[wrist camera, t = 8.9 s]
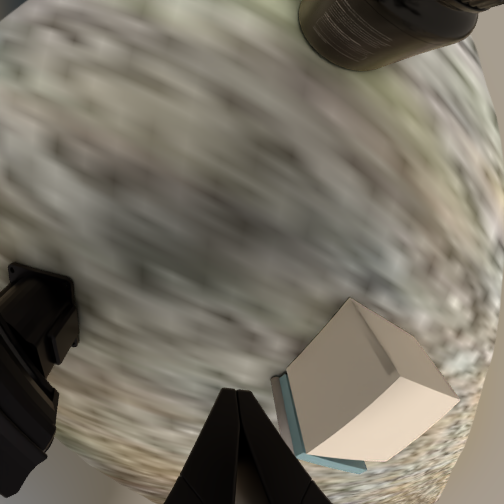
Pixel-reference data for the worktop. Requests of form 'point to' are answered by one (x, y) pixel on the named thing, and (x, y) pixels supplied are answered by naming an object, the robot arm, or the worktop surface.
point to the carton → (365, 388)
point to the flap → (293, 432)
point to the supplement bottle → (386, 28)
